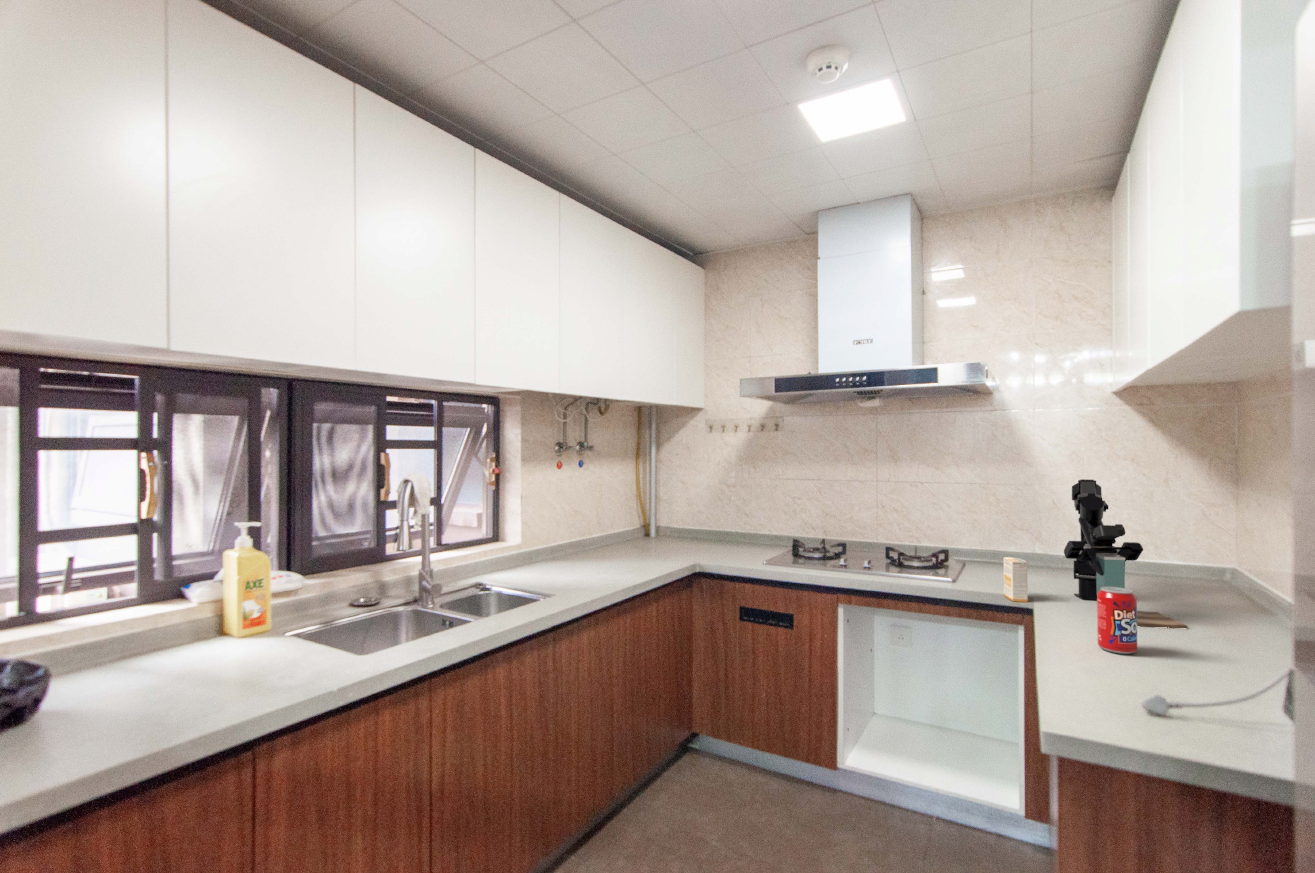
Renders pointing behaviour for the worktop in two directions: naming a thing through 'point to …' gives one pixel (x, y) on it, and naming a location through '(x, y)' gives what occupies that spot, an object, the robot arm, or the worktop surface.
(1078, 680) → the worktop surface
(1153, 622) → the walnut board
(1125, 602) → the soda can
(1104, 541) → the robot arm
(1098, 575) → the tea tin
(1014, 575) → the supplement box
